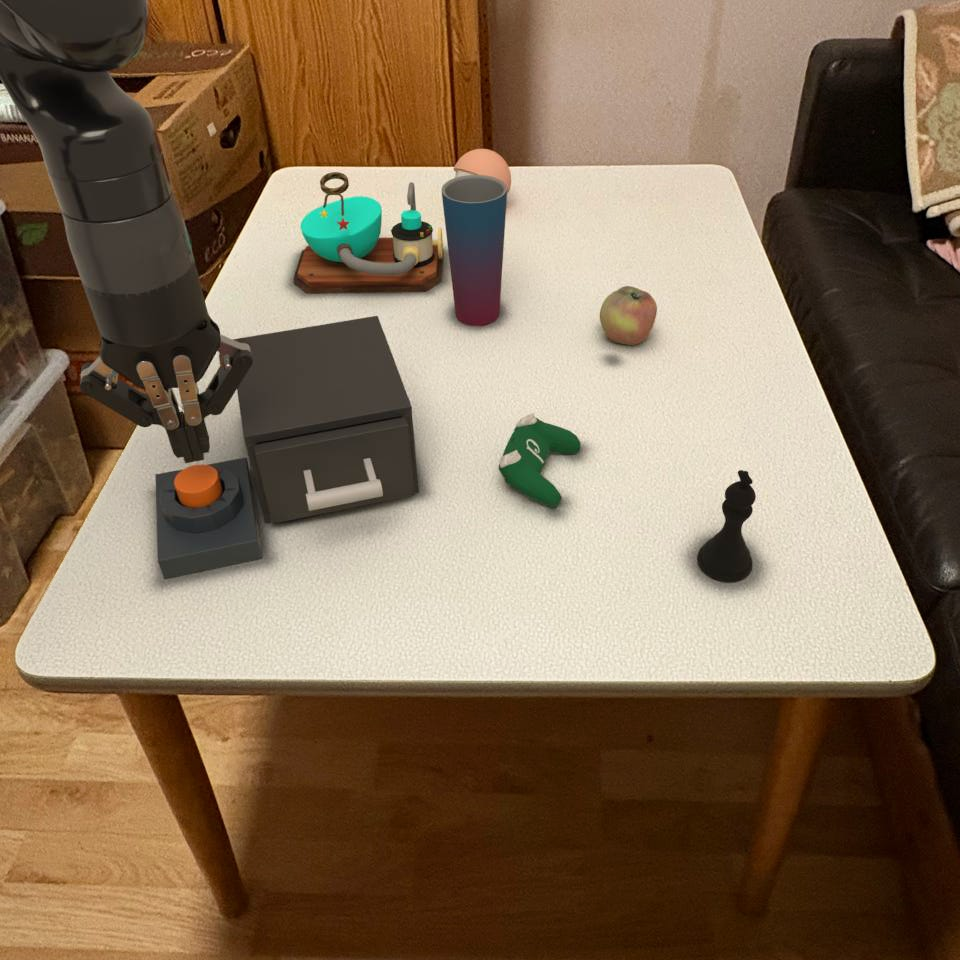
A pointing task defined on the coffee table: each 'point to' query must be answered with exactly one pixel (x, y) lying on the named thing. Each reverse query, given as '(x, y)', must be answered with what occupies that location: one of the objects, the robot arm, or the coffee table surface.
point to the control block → (207, 524)
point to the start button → (198, 485)
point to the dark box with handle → (336, 469)
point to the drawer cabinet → (320, 385)
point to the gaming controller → (535, 457)
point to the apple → (628, 315)
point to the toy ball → (484, 165)
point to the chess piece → (730, 536)
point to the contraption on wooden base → (366, 247)
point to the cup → (475, 245)
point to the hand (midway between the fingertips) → (194, 455)
